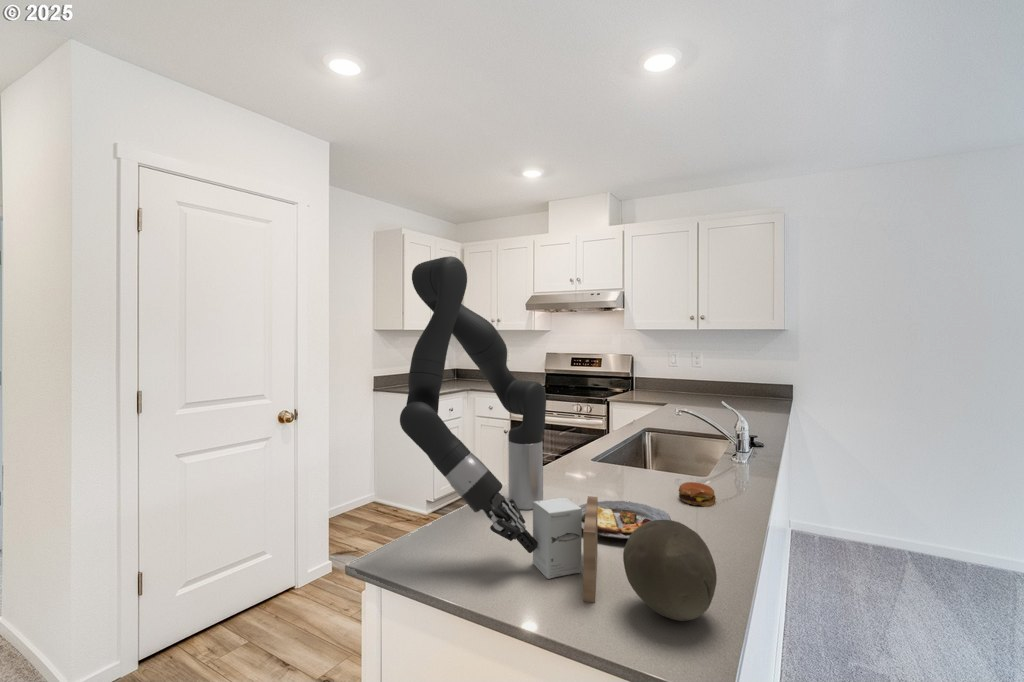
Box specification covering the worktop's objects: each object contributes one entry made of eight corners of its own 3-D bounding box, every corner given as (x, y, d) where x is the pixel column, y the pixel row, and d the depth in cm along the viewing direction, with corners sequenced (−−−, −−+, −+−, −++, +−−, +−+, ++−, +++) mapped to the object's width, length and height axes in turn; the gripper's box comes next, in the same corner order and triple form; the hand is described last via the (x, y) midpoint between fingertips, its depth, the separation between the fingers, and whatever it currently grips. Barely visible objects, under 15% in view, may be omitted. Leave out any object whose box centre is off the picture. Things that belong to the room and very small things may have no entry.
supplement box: (547, 580, 92) (547, 512, 92) (531, 563, 99) (531, 500, 99) (582, 573, 95) (582, 507, 95) (564, 557, 102) (564, 496, 102)
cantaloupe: (694, 591, 88) (694, 507, 88) (731, 640, 74) (732, 540, 74) (615, 593, 88) (615, 508, 88) (638, 642, 74) (638, 542, 74)
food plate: (679, 550, 105) (679, 533, 105) (568, 544, 109) (568, 528, 109) (665, 512, 129) (665, 498, 129) (575, 508, 134) (575, 495, 134)
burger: (697, 494, 143) (697, 478, 143) (723, 504, 134) (723, 487, 134) (670, 498, 139) (670, 482, 139) (695, 509, 130) (695, 492, 130)
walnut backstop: (587, 553, 104) (587, 496, 104) (597, 554, 103) (597, 496, 103) (583, 601, 85) (583, 531, 85) (595, 602, 85) (595, 532, 85)
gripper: (477, 478, 91) (543, 551, 89) (494, 460, 104) (552, 523, 102) (450, 505, 93) (514, 577, 90) (470, 484, 105) (526, 547, 103)
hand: (534, 548), depth 96 cm, fingers closed
